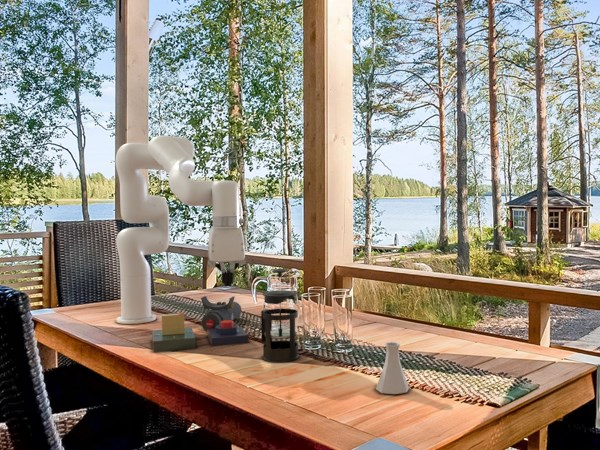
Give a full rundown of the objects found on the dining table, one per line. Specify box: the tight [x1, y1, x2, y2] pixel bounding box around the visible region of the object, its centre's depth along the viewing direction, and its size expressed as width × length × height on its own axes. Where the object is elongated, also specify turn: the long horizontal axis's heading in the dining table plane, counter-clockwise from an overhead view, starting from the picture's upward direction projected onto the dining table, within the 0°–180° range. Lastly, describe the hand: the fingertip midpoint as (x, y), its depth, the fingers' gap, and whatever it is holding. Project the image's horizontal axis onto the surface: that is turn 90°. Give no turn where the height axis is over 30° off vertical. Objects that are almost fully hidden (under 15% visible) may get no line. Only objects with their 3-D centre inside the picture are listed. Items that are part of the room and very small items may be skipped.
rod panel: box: [151, 326, 197, 353], centre depth 161 cm, size 14×11×3 cm
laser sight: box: [200, 295, 242, 332], centre depth 185 cm, size 10×22×10 cm, turn 174°
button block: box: [206, 323, 249, 347], centre depth 167 cm, size 12×10×4 cm
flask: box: [375, 341, 410, 395], centre depth 123 cm, size 7×7×10 cm
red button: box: [221, 320, 234, 328], centre depth 167 cm, size 4×4×2 cm
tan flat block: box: [161, 312, 186, 335], centre depth 161 cm, size 6×2×6 cm, turn 111°
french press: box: [260, 268, 300, 363], centre depth 148 cm, size 12×9×23 cm
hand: (227, 285), depth 166 cm, fingers closed
